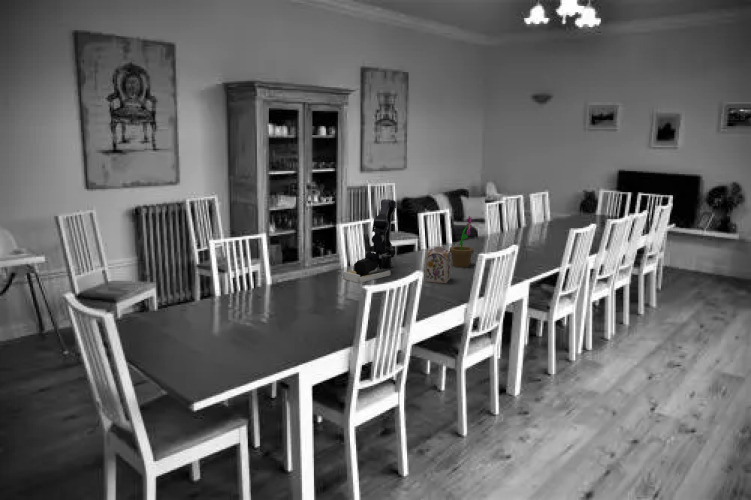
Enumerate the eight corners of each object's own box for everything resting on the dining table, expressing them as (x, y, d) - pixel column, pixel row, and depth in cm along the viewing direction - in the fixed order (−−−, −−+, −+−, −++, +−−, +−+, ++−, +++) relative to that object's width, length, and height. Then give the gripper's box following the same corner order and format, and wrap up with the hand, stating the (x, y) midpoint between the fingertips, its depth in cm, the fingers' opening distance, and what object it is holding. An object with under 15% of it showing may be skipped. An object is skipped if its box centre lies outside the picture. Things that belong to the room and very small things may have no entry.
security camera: (351, 280, 305) (351, 262, 303) (367, 273, 321) (367, 255, 319) (362, 282, 302) (362, 263, 300) (378, 274, 318) (378, 257, 316)
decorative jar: (446, 284, 301) (447, 249, 298) (424, 282, 305) (425, 248, 301) (450, 278, 313) (451, 245, 309) (429, 276, 316) (430, 244, 312)
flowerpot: (470, 269, 334) (472, 217, 328) (445, 266, 339) (447, 215, 333) (475, 264, 347) (478, 214, 341) (452, 261, 352) (454, 212, 346)
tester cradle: (374, 271, 325) (374, 262, 324) (390, 275, 317) (390, 266, 316) (342, 278, 309) (342, 269, 308) (358, 283, 300) (358, 273, 299)
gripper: (381, 236, 328) (381, 263, 332) (357, 241, 315) (358, 269, 319) (396, 239, 321) (396, 267, 324) (372, 244, 308) (372, 273, 311)
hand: (380, 269), depth 320 cm, fingers closed
